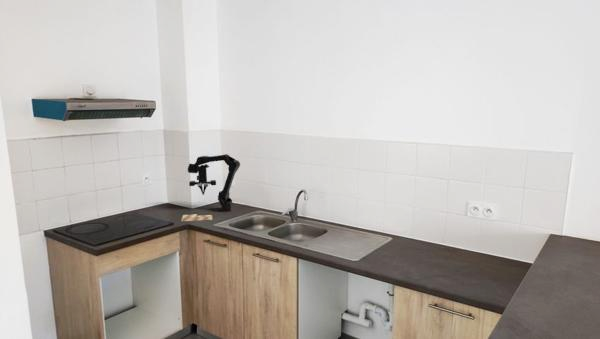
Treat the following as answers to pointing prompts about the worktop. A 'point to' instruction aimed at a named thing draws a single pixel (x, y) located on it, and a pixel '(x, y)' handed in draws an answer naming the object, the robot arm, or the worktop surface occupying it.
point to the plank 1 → (189, 216)
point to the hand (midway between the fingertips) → (203, 194)
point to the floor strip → (197, 218)
